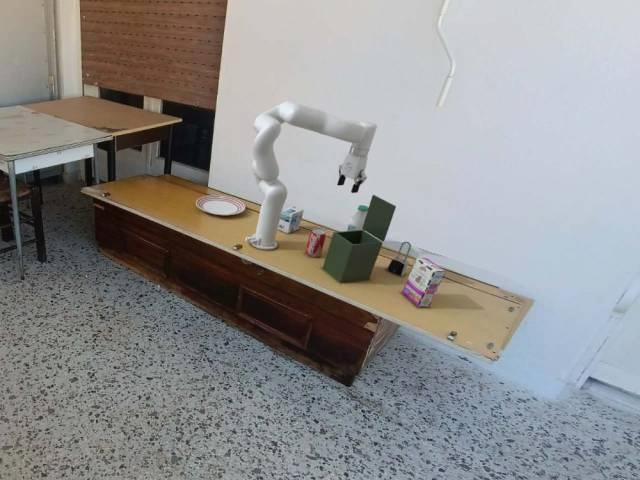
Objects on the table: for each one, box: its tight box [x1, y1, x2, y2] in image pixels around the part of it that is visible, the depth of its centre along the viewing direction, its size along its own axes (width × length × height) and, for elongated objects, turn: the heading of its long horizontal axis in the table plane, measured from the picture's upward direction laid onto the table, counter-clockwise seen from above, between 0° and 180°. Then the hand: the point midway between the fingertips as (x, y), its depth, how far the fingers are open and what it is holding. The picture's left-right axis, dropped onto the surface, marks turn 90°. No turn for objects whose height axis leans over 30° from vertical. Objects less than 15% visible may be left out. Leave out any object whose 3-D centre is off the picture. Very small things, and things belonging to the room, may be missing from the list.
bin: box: [322, 230, 384, 284], centre depth 195 cm, size 15×13×18 cm
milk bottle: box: [346, 204, 369, 232], centre depth 220 cm, size 8×8×20 cm
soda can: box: [304, 228, 327, 258], centre depth 211 cm, size 7×7×12 cm
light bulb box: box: [277, 205, 304, 234], centre depth 235 cm, size 11×7×11 cm, turn 129°
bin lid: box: [362, 194, 397, 243], centre depth 188 cm, size 15×13×1 cm
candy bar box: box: [401, 257, 446, 308], centre depth 180 cm, size 11×5×16 cm, turn 5°
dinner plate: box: [195, 194, 246, 217], centre depth 257 cm, size 27×27×3 cm
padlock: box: [386, 241, 412, 277], centre depth 199 cm, size 7×4×15 cm, turn 37°
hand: (347, 188), depth 209 cm, fingers open, 9 cm apart
